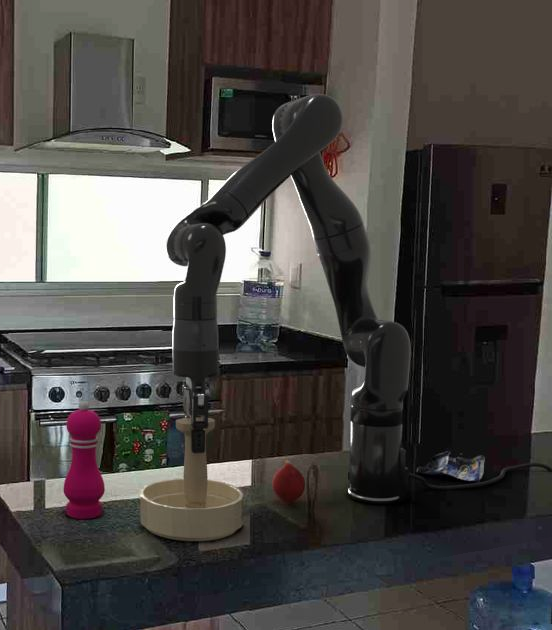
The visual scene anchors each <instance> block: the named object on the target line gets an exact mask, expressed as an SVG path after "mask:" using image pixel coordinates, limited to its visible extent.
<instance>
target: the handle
mask: <svg viewBox="0 0 552 630" xmlns="http://www.w3.org/2000/svg"><path fill="white" fill-rule="evenodd" d="M196 421H202V416H201V417H196ZM208 424H209V426H208V429H206V430H205V452H204V453H193V452H192V451H191V428H190V418H185V417H183V418H178V419H175V428H176V430H178V431H179V432H181V433H183V434H184V459H183V478H182V479H184V480H183V482H184V495H185V499H186V500H187V501H185V506H186V508H205V507H206V502H205V500H206V495H207V483H208V480H209V479H208V463H207V461H208V459H207V444H206V442H207V441H206V439H207V434H208V433H210V432H212V431H213V430H214V429H215V427H216V420H215V419H214V418H212V417H208ZM207 479H208V480H207Z"/></svg>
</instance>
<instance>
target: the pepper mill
mask: <svg viewBox="0 0 552 630" xmlns="http://www.w3.org/2000/svg"><path fill="white" fill-rule="evenodd" d="M89 407H90V405H89V402H88V401H86V400H82V401H80V402H79V403H78V409H77V410H74V411H72V412H71V413H70V414H69V415H68V417H67V420H66V430H67V432H68V433H69V435H70V437H69V446H70V448H71V462H70V466H69V469H68V471H67V474H66V476H65V479H64V483H63V490H62V491H63V495H64V496H65V498H66V499H67V500H68V502H66V504H65V505H66V506H65V507H66V510H65V511H66V516H68V517H69V518H73V519H76V520H78V519H79V520H85V519H86V520H87V519H93V518H98V517H99V516H101V515H102V514H103V503H102V501H100V500H101V499H102V497H103V496H104V494H105V491H106V489H105V482H104V478H103V475H102V473H101V471H100V470H99V466H98V462H97V456H96V453H97V452H96V450H97V447H98V446H99V437H98V436H97V435H98V434H99V433H100V431H101V429H102V421H101V417H100V416H99V415H98V413H97V412H96V411H94V410H91V409H89Z"/></svg>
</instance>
